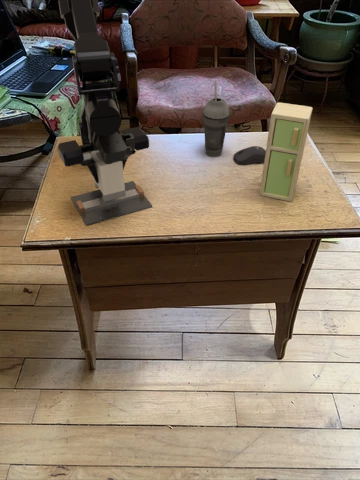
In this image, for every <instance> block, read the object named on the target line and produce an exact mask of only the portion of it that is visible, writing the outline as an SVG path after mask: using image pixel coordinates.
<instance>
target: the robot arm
mask: <svg viewBox="0 0 360 480" xmlns="http://www.w3.org/2000/svg"><path fill="white" fill-rule="evenodd" d="M58 7H59V14H60V19H63V20H64V24H65V27H66V29H67V30H68V32H69V33H70V35H71V36H72V37H73V39H74V43H73V47H74V55H71V57H72V65H73V70H74V71H73V72H74V77H75V81H76V88H77V93H78V95H79V96H83V97H82V98H83V107H82V109H81V111H80V114H79V115H80V116H79V117H80V122H78V125H79V126H78V127H79V133H80V139H81V143H82V144H81V145H79V143H78V142H77V141H76V139H75V140H74V139H72V140H69V141H64V142H60V143H59V144H58V145H57V151H58V155H59V157H60V159H61V161H62V162H63V164H64V166H65V167H72V166H77V165H80V166H82V167H84V166H86V167H87V168H88V170H89V172H90V174H91V175H92V178H93V180H94V179H95V181H96V183H99V181H98V175H97V171H96V168H95V161H94V160H93V158H92V157H91V153H93V152H97V151H99V152H100V155H101V157H102V159H103V162H104V163H105V164H112V163H114V162H118V161H122V164H123V171H124V169H125V167H126V164H127V163H126V162H127V161H128V158H130V157H131V156H132V155H135V154H136V153H137V152H138V151H142V150H146V149H149V147H150V139H149V136H148V134H146V133H145V132H144V130H142V129H141V128H140V127H139V126H136V127H131V128H125V129H123V131H122V133H121V132H120V129H121V125H122V116H121V114H120V111H119V108H118V106H117V104H116V101H115V100H114V98H113V97H114V95H113V93H114V92H120V91H121V90H120V88H121V87H120V85H121V84H122V77H121V72H120V67H119V62H118V59H117V58H116V56H115V55H116V54H115V53H114V52H111V50H110V47H109V44H108V41H107V40H106V39H105V38H103V37H102V36H100V33H99V30H98V20H97V17H100V6H99V0H58ZM112 79H113V81H112ZM108 80H109V81H108ZM110 80H111V81H110Z"/></svg>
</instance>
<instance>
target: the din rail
mask: <svg viewBox="0 0 360 480" xmlns="http://www.w3.org/2000/svg"><path fill="white" fill-rule="evenodd" d="M124 184H125V195H126V196H123V197H120V198H116V199H112V200H109V201H104V200H103V195H102V192H101V190H100V189H96V190H93V191H88V192H85V193H81V194H77V195H72V196H70V198H71V200H72V202H73V204H74V206H75V208H76V210H77V211H78V213H79V215H80V217H81V219H82V221H83V223H84V225H85V227H87V226H91V225H95V224H99V223H102V222H105V221H108V220H109V221H110V220H112V219H116V218H119V217H123V216H127V215H130V214H134V213H137V212H140V211H143V210H147V209H151V208H153V204H152V203H151V201H150V200H148V198H147V196H145V191H144V190H143V188H142V187H141V185H139V184H136V183H135V181H134V180H131V181H128V182H127V181H126V182H124Z"/></svg>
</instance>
